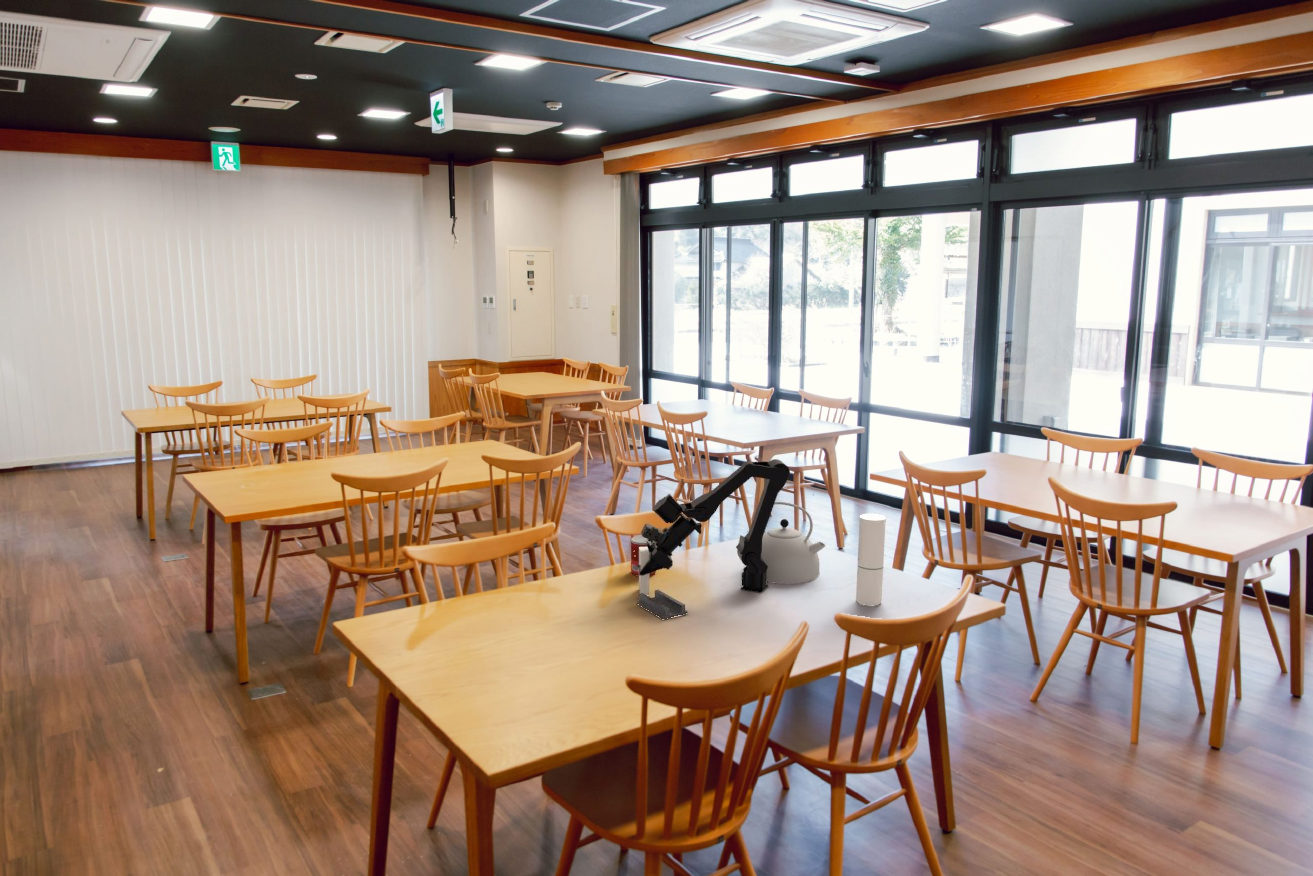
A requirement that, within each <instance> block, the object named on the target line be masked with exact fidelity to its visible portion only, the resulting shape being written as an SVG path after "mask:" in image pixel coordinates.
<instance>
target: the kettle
mask: <svg viewBox="0 0 1313 876" xmlns="http://www.w3.org/2000/svg"><path fill="white" fill-rule="evenodd" d="M775 505H781V506H783V505H784V506H789V507H793V508H796V509H798V510H800V511H801V512H802V513H804V514H805V515H806V516H807V518H808V520H809V531H808V534H807V535H805V534H803V533H802V532H801V531H799V530H797V529H796V528H789V527H788V526H789V523H790V521H788V519H786V518H783V519H781V520H780V522H779V523H780V526H781V527H776V528H772V529H769V530H767V531H765V532H764V535H763V538H762V553H761V557H762V558H763V560H764V561H765V563H766V564H767V565H768V568H767V578H766V581H768V582H767V583H772V582H775V583H774V584H781V583H785V584H786V585H788V584H789V585H790V584H791V585H792V584H793V585H796V584H803V583H808V582H812V581H815V580H817V578H819V577H820V575H819V574H821V573H820V569H821V568H820V567H821V566H820V558H819V553H818V552H819V551H821V550H823V549H824V548H825V547H826V544H825V543H823V542H821V541H817V542H815V543H813V542H812V541H811V539H810V538H811V534H812V532H813V529H814V524H813V519H812V516H811V515H810V513H809V512H808V511H807V510H806V509H805V508H803V507H802V506H799V505H797V504H794V503H791V502H786V501H775V503H774V506H775ZM818 576H819V577H818ZM785 584H784V585H785Z"/></svg>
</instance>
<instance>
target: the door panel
mask: <svg viewBox="0 0 1313 876" xmlns="http://www.w3.org/2000/svg"><path fill="white" fill-rule="evenodd" d="M648 560H649V550H648V547H639V573H640V571H641V570H642V568H643V567H644V566H645V564H646V563H647V562H648ZM639 590H640V591H639ZM638 591H639V594H641V593H643V594H645V595H649V596H650V576H649V573H648V574H646V575H643V576H641V575H640V574H639V576H638Z"/></svg>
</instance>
